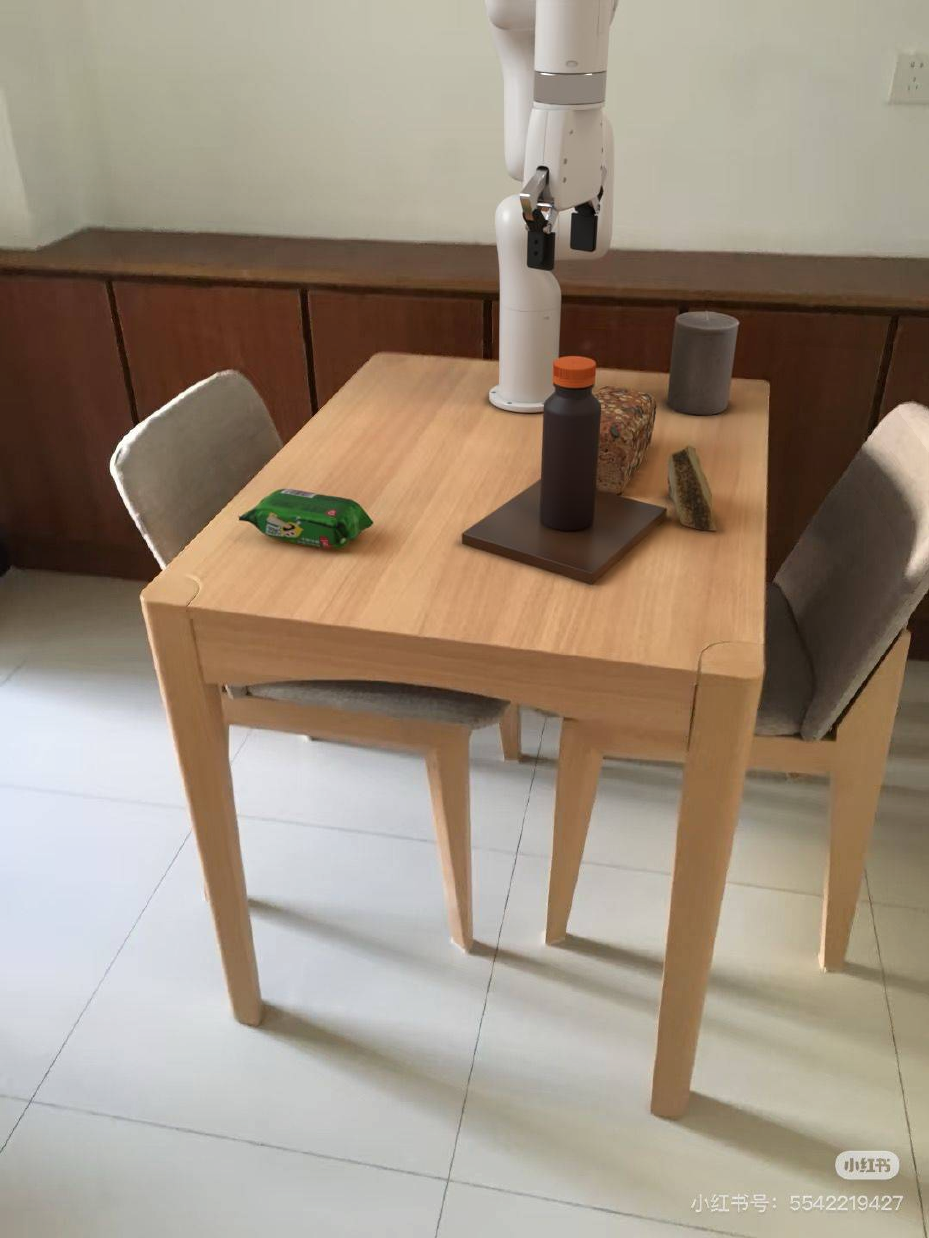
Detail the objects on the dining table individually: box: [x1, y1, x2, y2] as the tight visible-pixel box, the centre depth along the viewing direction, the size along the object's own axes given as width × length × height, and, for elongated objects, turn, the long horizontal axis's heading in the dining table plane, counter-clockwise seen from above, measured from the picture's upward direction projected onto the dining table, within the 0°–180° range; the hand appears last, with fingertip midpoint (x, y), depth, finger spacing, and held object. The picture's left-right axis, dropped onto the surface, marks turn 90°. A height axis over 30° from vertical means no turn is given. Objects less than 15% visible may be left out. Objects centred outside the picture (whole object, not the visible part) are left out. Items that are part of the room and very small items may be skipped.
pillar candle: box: [666, 310, 740, 416], centre depth 161 cm, size 10×10×15 cm
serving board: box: [461, 478, 668, 585], centre depth 128 cm, size 20×18×2 cm
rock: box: [667, 444, 718, 532], centre depth 131 cm, size 11×9×10 cm
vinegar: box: [540, 355, 601, 531], centre depth 122 cm, size 7×7×20 cm
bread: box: [592, 385, 658, 495], centre depth 142 cm, size 19×11×10 cm, turn 158°
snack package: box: [237, 488, 375, 550], centre depth 126 cm, size 7×16×5 cm, turn 70°
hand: (562, 259), depth 116 cm, fingers open, 9 cm apart
